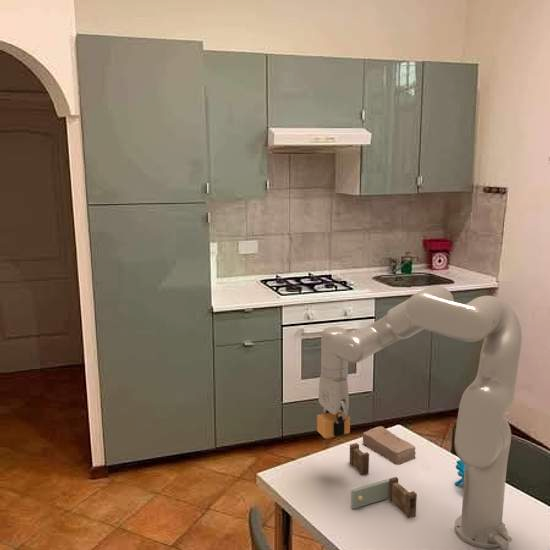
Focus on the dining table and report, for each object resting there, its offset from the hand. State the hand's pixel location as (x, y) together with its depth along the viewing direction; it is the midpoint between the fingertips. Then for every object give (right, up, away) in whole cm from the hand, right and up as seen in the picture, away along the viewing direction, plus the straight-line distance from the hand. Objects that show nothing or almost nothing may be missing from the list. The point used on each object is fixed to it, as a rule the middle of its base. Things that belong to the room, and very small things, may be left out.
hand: (334, 430), depth 168 cm
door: (+10, -17, -10) cm, 22 cm away
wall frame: (+13, -16, -2) cm, 21 cm away
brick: (+19, -12, +19) cm, 30 cm away
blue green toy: (+38, -16, -2) cm, 41 cm away
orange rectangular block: (0, -1, 0) cm, 1 cm away
